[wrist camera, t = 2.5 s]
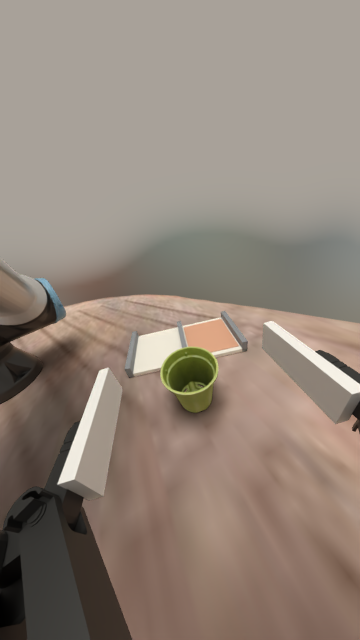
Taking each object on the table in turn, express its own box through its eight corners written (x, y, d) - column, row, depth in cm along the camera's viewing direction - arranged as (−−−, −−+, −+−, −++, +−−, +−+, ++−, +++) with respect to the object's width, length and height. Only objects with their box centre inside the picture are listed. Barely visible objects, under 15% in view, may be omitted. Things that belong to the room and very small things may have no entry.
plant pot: (162, 410, 29) (148, 382, 24) (184, 370, 36) (177, 341, 31) (211, 434, 25) (205, 405, 20) (226, 383, 31) (225, 352, 26)
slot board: (129, 377, 37) (124, 369, 35) (135, 339, 48) (132, 332, 47) (247, 350, 37) (247, 341, 35) (225, 319, 49) (224, 310, 47)
